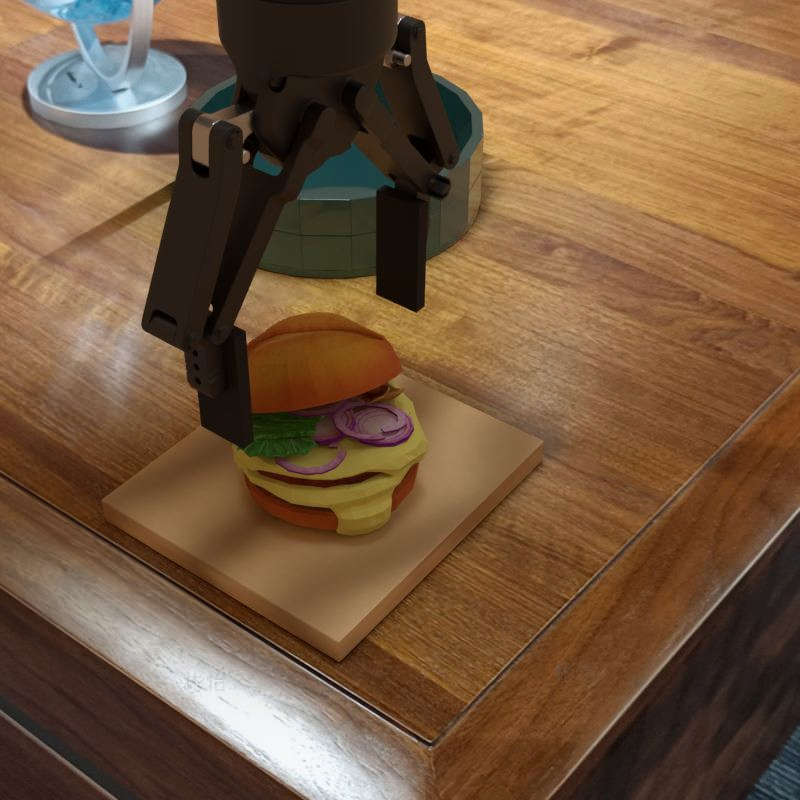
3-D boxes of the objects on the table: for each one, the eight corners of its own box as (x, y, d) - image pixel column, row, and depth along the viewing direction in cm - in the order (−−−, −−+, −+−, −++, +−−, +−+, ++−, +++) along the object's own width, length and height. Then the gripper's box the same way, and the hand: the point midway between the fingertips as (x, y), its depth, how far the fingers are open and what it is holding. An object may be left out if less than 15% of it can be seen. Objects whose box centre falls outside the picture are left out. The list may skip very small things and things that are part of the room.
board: (104, 520, 72) (100, 499, 71) (321, 355, 83) (320, 335, 82) (339, 663, 64) (338, 642, 63) (542, 460, 75) (544, 440, 74)
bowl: (131, 211, 96) (120, 135, 92) (317, 103, 108) (314, 32, 104) (359, 315, 86) (358, 235, 82) (534, 183, 99) (540, 108, 95)
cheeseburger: (275, 575, 66) (242, 394, 62) (214, 482, 75) (181, 318, 71) (461, 514, 69) (442, 337, 65) (381, 432, 78) (359, 272, 74)
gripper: (151, 93, 45) (202, 536, 59) (549, -113, 61) (516, 277, 74) (2, 32, 49) (83, 464, 62) (415, -148, 64) (407, 231, 78)
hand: (319, 363), depth 68 cm, fingers open, 13 cm apart
